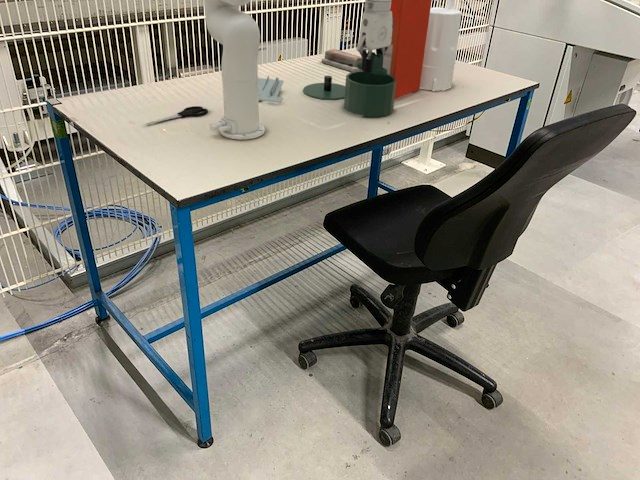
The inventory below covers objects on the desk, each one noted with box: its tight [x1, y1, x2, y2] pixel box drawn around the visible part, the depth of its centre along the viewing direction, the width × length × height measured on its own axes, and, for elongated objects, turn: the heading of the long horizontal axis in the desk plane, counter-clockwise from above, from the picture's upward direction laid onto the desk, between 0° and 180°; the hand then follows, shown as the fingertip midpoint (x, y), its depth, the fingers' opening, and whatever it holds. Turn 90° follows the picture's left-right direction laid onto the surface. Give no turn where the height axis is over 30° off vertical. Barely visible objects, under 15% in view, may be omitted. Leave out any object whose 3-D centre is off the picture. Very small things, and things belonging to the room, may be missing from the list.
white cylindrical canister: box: [419, 0, 462, 92], centre depth 183 cm, size 15×15×33 cm
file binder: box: [383, 0, 433, 100], centre depth 173 cm, size 8×17×32 cm, turn 139°
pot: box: [343, 70, 397, 119], centre depth 164 cm, size 16×16×10 cm
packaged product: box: [321, 48, 362, 73], centre depth 207 cm, size 18×5×10 cm
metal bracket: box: [258, 75, 285, 103], centre depth 173 cm, size 14×6×15 cm
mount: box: [357, 51, 387, 75], centre depth 159 cm, size 11×4×5 cm, turn 47°
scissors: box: [146, 105, 209, 125], centre depth 153 cm, size 7×1×20 cm
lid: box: [302, 75, 345, 101], centre depth 176 cm, size 17×17×6 cm
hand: (371, 69), depth 160 cm, fingers closed on mount, 4 cm apart
